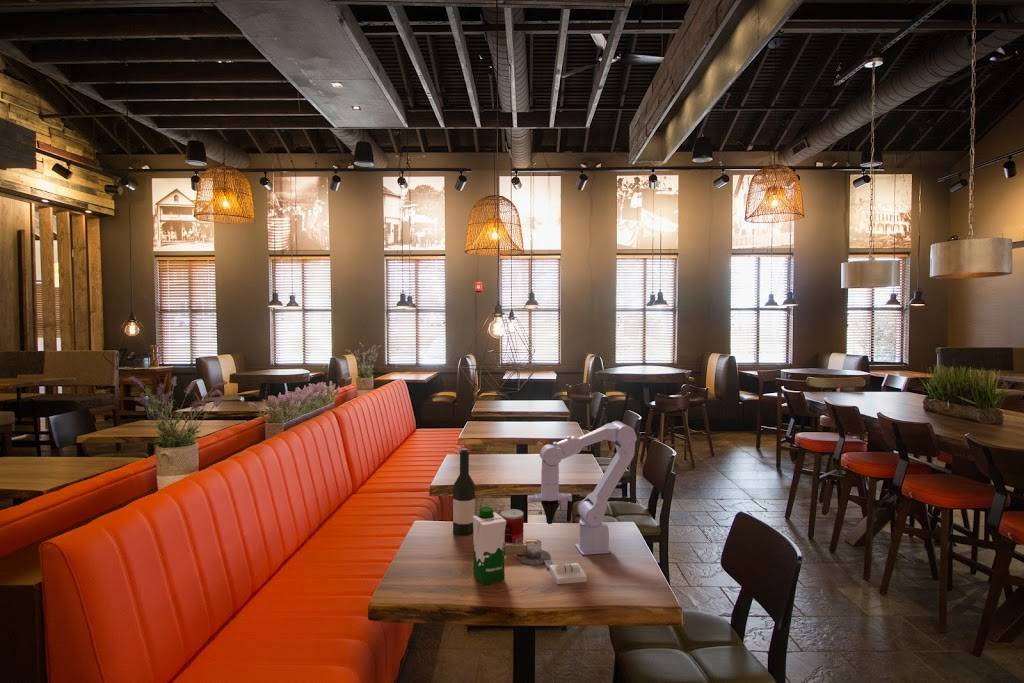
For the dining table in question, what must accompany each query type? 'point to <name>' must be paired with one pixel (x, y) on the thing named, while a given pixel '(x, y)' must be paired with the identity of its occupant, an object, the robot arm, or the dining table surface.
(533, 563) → the dial base
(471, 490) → the wine bottle
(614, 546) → the dining table surface
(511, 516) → the canned food
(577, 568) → the stand board
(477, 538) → the milk carton
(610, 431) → the robot arm
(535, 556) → the round-headed metal tool
